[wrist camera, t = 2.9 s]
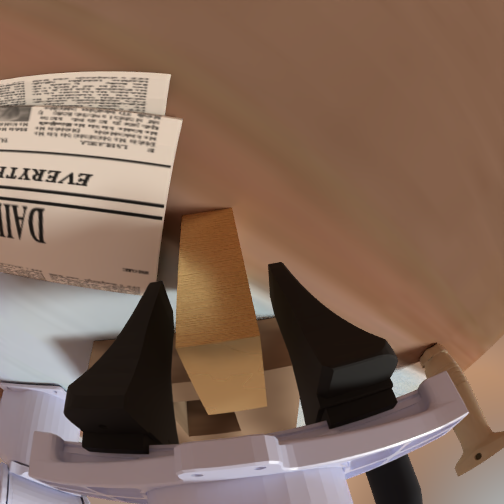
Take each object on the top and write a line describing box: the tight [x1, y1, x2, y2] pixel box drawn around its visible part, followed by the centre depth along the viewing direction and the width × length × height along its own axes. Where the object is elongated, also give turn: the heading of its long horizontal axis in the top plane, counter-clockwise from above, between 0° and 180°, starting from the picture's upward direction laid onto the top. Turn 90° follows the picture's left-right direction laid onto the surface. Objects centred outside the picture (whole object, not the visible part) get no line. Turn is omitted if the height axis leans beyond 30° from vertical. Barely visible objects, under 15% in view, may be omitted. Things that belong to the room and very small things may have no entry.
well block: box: [88, 318, 300, 444], centre depth 22 cm, size 14×12×4 cm
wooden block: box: [176, 208, 267, 415], centre depth 13 cm, size 2×5×8 cm, turn 5°
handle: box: [420, 344, 504, 476], centre depth 23 cm, size 5×6×15 cm
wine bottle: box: [366, 454, 423, 504], centre depth 26 cm, size 6×6×30 cm
